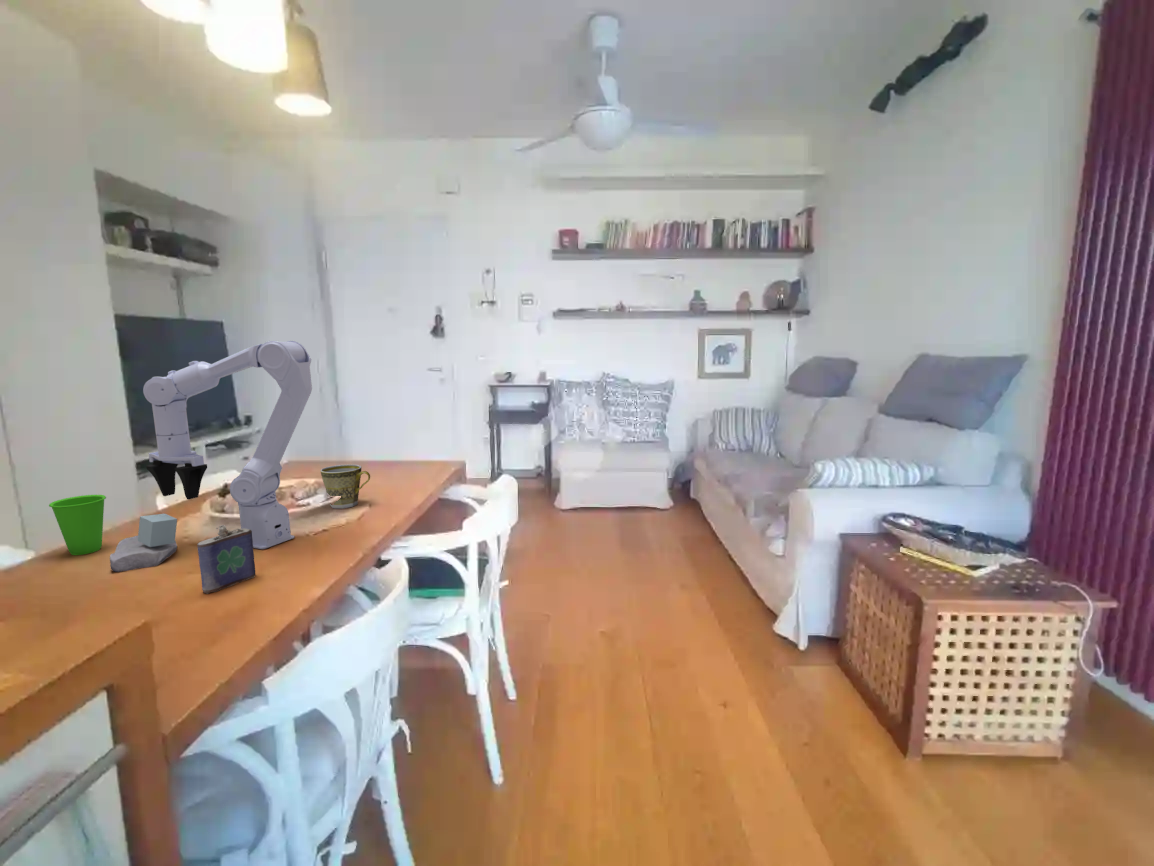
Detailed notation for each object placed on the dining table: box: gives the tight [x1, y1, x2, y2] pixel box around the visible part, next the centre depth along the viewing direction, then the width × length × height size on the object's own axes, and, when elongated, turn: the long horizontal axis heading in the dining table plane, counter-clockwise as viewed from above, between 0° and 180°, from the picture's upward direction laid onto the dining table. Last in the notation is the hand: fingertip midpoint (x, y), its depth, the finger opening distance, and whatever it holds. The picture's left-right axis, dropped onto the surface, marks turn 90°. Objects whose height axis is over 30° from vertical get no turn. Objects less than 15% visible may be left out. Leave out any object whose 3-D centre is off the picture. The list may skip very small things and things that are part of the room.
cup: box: [48, 494, 107, 556], centre depth 120 cm, size 9×9×11 cm
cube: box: [137, 513, 178, 547], centre depth 115 cm, size 4×4×5 cm
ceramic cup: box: [320, 463, 371, 510], centre depth 152 cm, size 13×10×10 cm
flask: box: [196, 524, 257, 595], centre depth 102 cm, size 9×3×11 cm, turn 151°
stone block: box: [109, 535, 178, 573], centre depth 116 cm, size 12×5×10 cm
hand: (180, 496), depth 123 cm, fingers open, 7 cm apart
